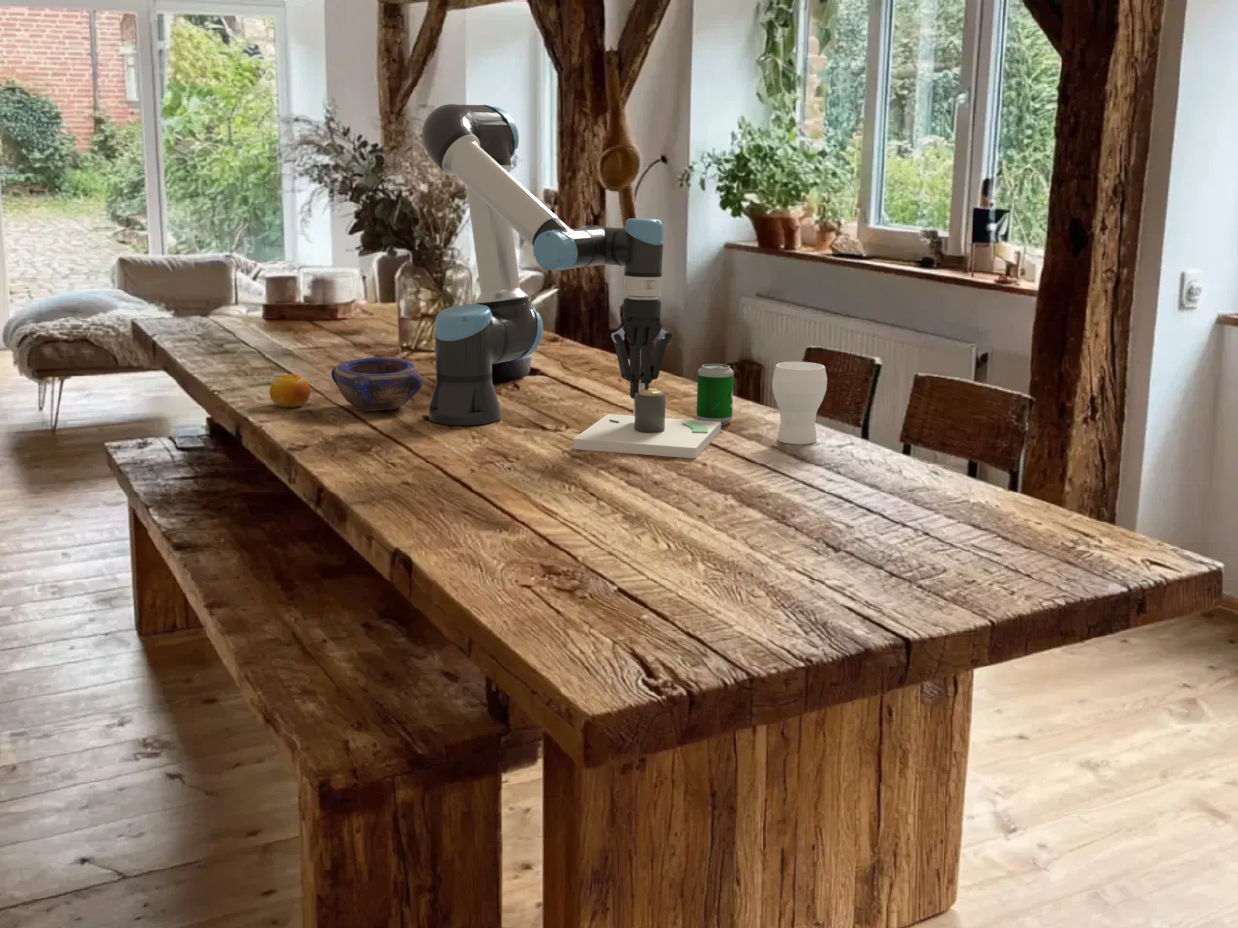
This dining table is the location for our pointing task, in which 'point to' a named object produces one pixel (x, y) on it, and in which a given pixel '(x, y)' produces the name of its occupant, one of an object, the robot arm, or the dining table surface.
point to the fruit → (290, 391)
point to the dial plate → (648, 437)
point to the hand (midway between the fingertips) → (638, 414)
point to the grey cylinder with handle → (649, 410)
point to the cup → (798, 399)
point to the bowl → (377, 382)
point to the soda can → (715, 393)
